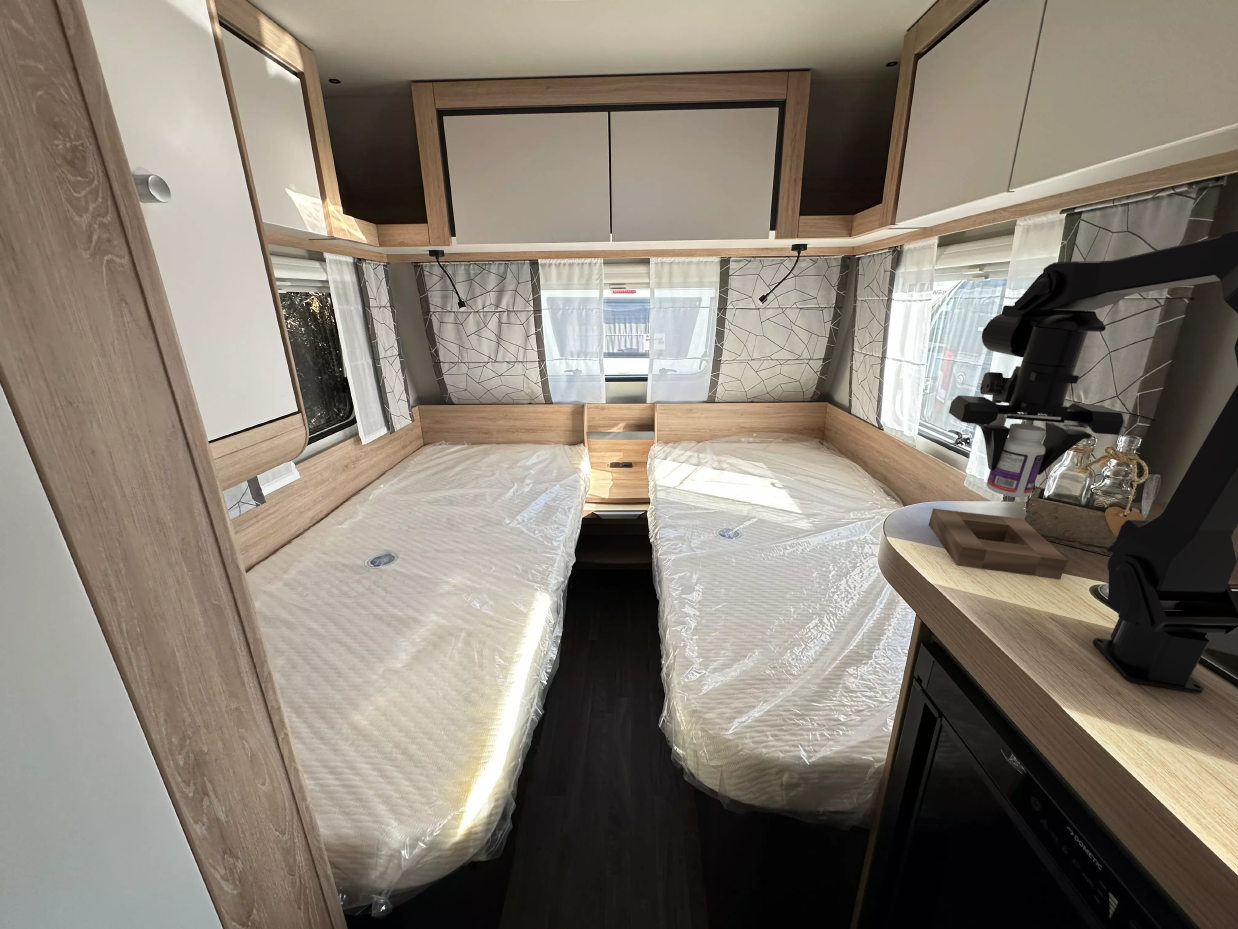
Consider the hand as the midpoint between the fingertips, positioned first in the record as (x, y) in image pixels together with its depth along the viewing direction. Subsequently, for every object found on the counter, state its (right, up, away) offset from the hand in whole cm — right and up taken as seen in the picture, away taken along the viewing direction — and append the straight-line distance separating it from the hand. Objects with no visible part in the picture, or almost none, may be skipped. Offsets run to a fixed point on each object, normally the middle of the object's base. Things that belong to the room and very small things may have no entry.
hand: (1013, 471), depth 73 cm
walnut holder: (0, -12, +5) cm, 13 cm away
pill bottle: (0, -3, +1) cm, 3 cm away
